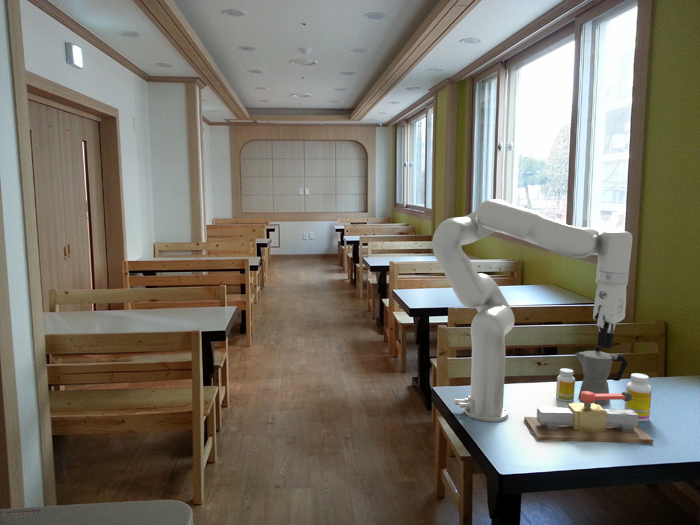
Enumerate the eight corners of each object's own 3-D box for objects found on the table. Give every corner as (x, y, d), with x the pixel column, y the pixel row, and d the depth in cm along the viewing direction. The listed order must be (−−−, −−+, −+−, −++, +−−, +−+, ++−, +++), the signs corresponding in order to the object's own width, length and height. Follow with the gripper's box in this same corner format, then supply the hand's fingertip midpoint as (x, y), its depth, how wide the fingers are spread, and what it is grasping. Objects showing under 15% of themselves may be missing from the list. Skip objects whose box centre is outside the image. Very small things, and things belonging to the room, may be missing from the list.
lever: (584, 409, 149) (585, 394, 149) (577, 404, 153) (578, 389, 152) (634, 408, 150) (635, 393, 150) (626, 403, 154) (627, 389, 153)
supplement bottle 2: (652, 423, 158) (656, 380, 157) (627, 421, 160) (630, 378, 158) (645, 414, 165) (648, 373, 163) (621, 412, 166) (624, 371, 165)
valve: (541, 433, 149) (543, 410, 149) (534, 423, 156) (535, 401, 155) (639, 436, 148) (641, 413, 148) (628, 426, 155) (629, 404, 154)
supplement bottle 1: (552, 396, 179) (554, 367, 178) (567, 395, 180) (569, 367, 179) (562, 402, 174) (564, 373, 172) (577, 401, 175) (579, 372, 174)
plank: (537, 440, 146) (538, 436, 146) (524, 420, 159) (524, 416, 159) (652, 443, 145) (653, 439, 145) (629, 423, 158) (630, 419, 158)
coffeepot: (571, 402, 174) (575, 346, 172) (571, 392, 183) (575, 339, 180) (626, 410, 168) (630, 352, 166) (623, 399, 177) (627, 345, 175)
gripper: (615, 283, 135) (608, 355, 137) (637, 277, 145) (630, 345, 148) (585, 278, 140) (578, 348, 143) (608, 273, 150) (601, 339, 153)
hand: (604, 346), depth 145 cm, fingers closed
